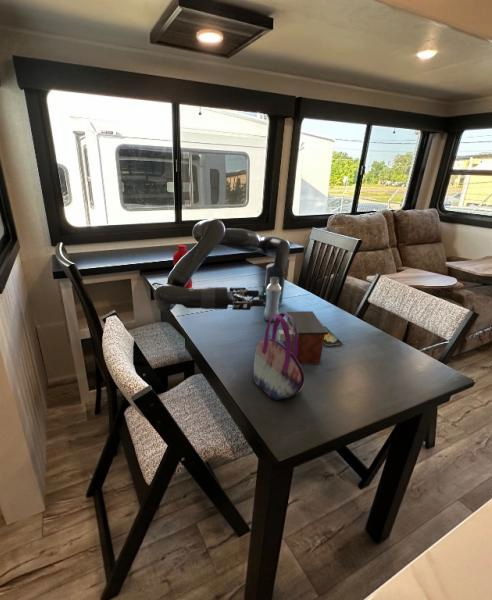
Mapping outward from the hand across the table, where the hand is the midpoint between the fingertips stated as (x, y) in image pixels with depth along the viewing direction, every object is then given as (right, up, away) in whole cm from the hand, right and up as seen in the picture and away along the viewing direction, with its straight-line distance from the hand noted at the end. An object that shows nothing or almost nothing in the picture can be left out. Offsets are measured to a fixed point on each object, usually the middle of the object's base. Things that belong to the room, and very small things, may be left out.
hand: (260, 298), depth 107 cm
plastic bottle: (+9, -10, +34) cm, 36 cm away
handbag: (+4, -28, -9) cm, 30 cm away
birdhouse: (+16, -20, +10) cm, 28 cm away
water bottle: (-35, +5, +65) cm, 74 cm away
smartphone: (+29, -16, +21) cm, 39 cm away
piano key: (+10, -15, +7) cm, 20 cm away
